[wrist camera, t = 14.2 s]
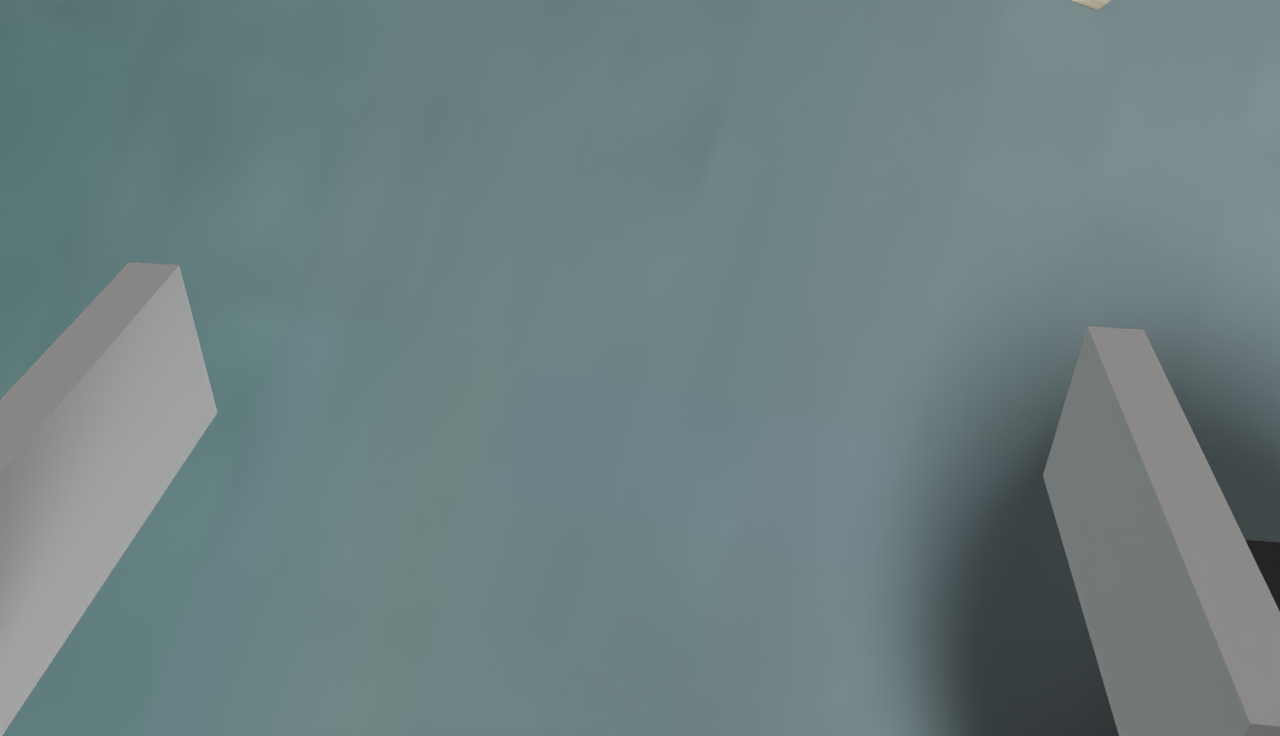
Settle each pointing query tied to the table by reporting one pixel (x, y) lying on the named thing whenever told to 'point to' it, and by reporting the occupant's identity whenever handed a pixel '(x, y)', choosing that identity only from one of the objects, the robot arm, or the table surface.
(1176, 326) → the table surface
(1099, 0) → the block
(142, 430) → the robot arm
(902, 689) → the table surface
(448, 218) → the table surface
